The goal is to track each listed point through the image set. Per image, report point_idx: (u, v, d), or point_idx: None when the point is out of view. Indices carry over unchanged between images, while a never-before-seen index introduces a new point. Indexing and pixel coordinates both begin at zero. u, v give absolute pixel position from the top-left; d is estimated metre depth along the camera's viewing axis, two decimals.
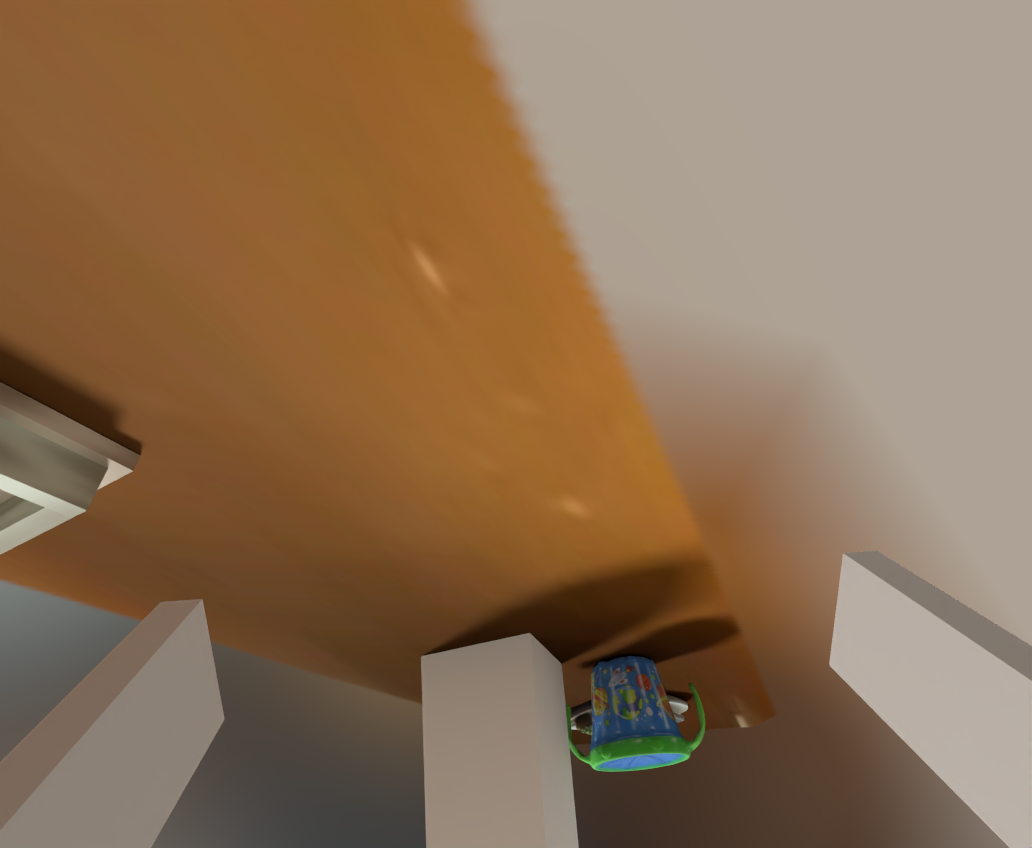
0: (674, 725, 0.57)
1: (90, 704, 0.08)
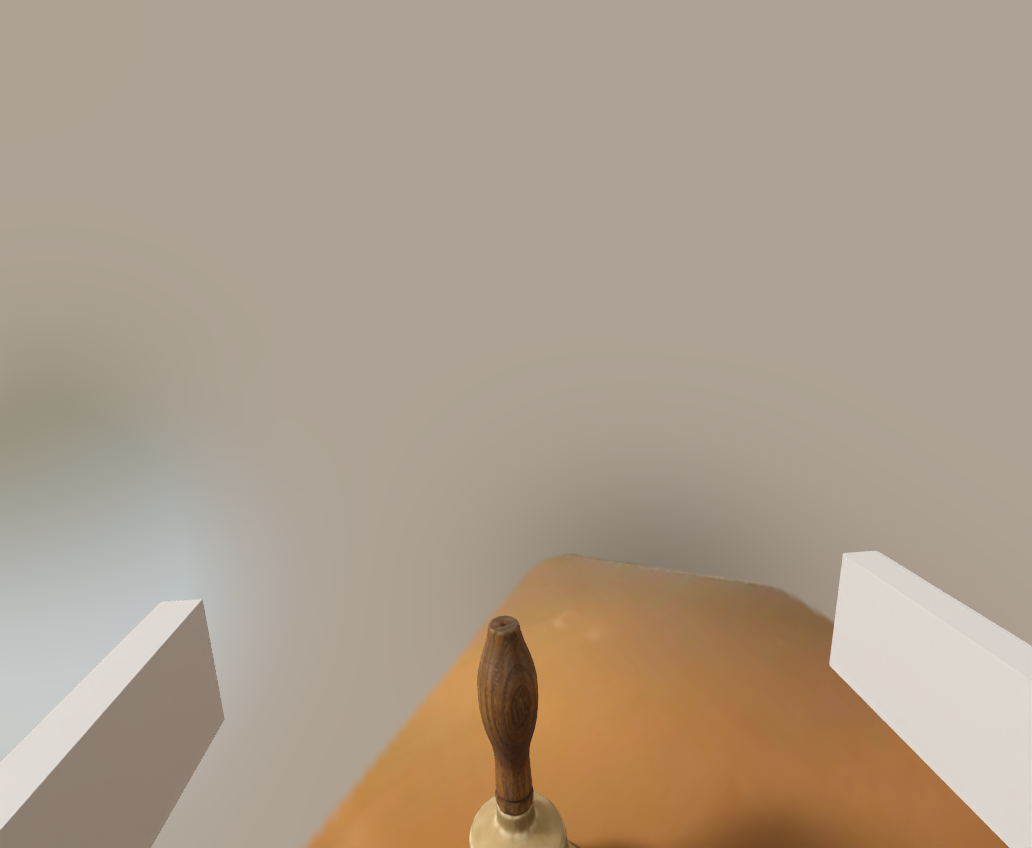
0: None
1: (90, 704, 0.08)
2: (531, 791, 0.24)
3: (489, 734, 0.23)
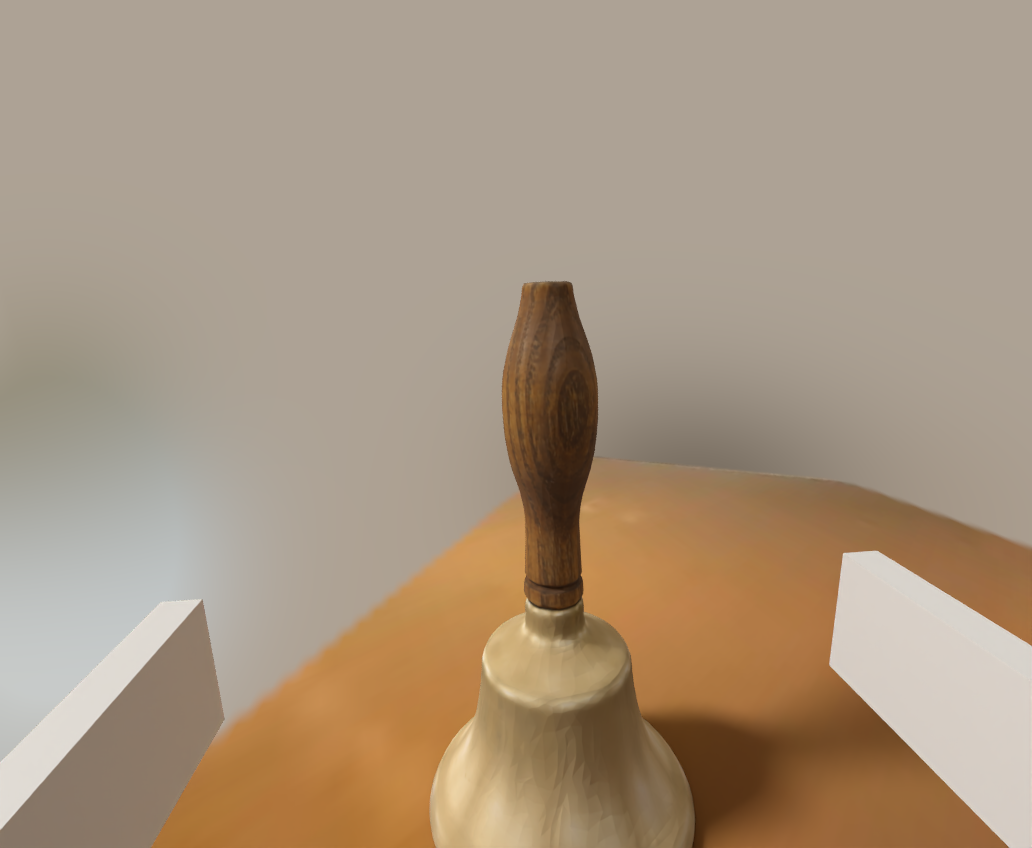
0: None
1: (90, 704, 0.08)
2: (580, 580, 0.15)
3: (520, 467, 0.14)
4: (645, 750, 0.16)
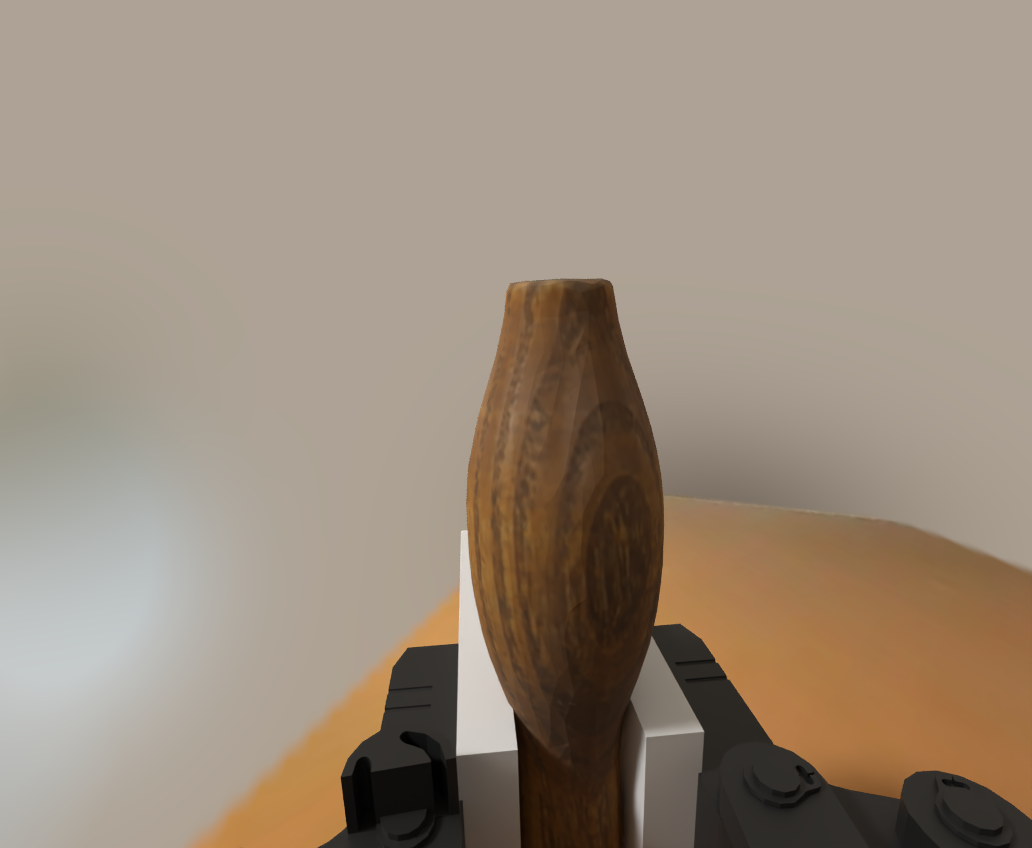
0: None
1: None
2: None
3: (503, 665, 0.07)
4: None
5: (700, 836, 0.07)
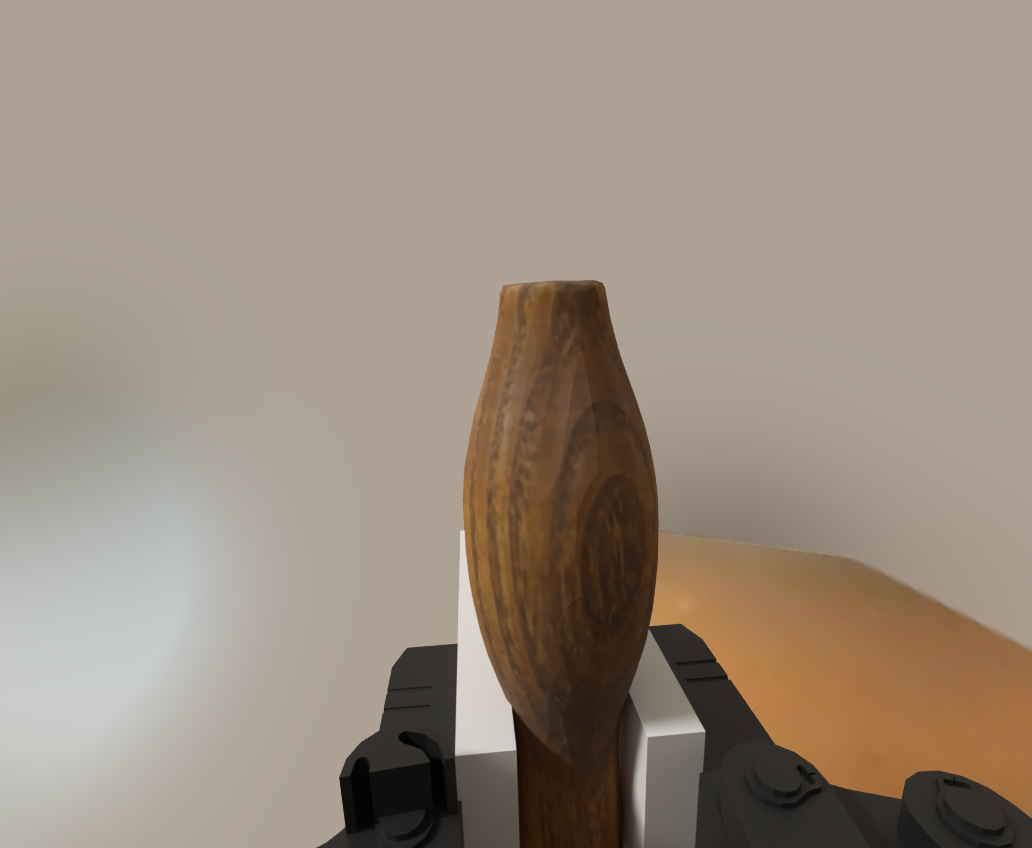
0: None
1: None
2: (621, 844, 0.08)
3: (501, 663, 0.07)
4: None
5: (700, 836, 0.07)
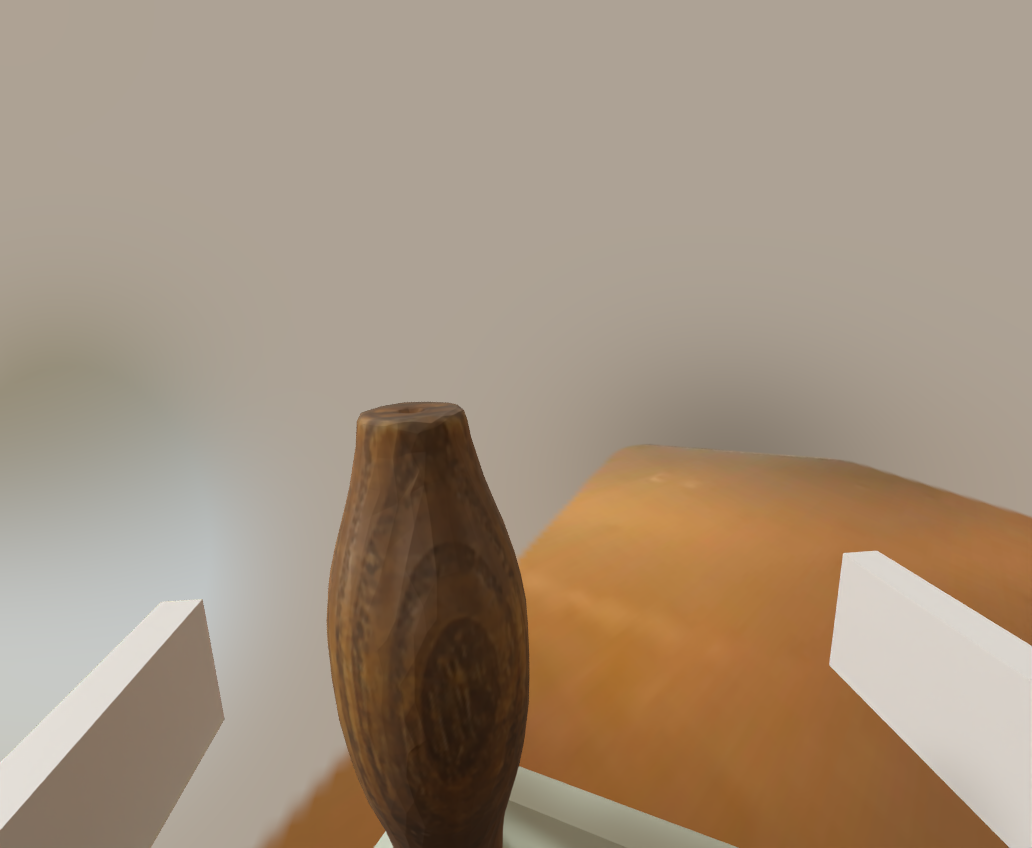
0: None
1: (90, 704, 0.08)
2: None
3: (363, 788, 0.07)
4: None
5: None
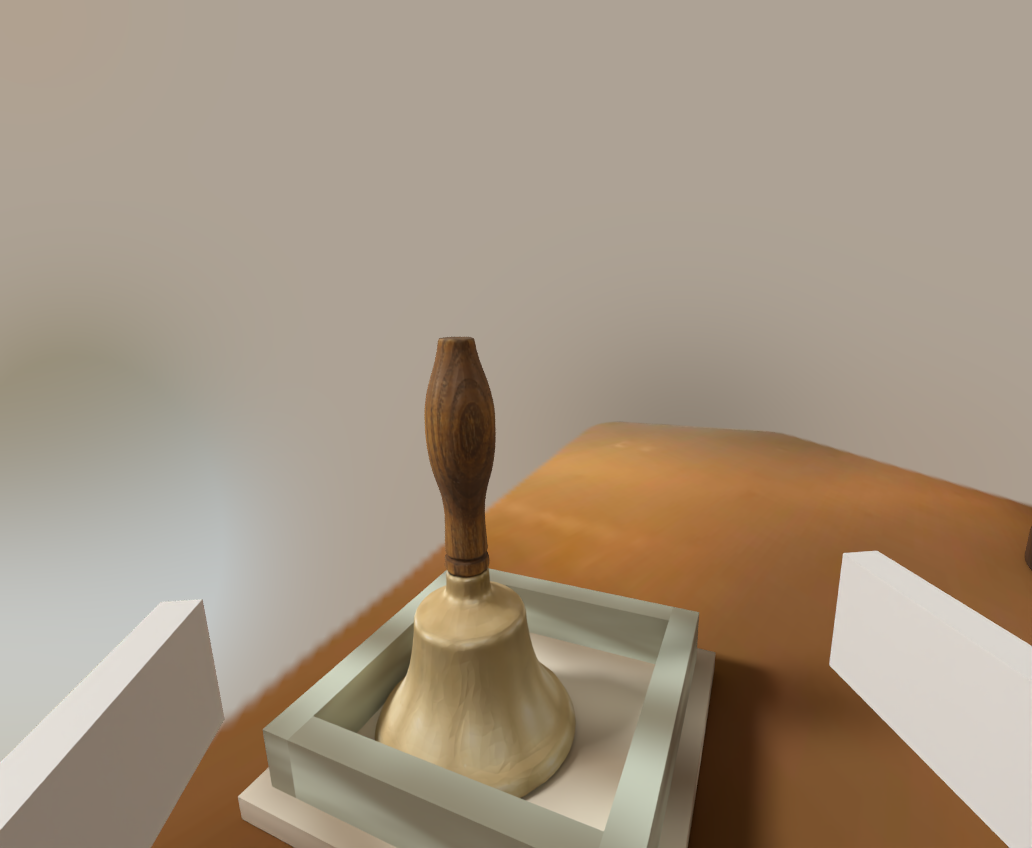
0: None
1: (90, 704, 0.08)
2: (486, 556, 0.21)
3: (436, 471, 0.19)
4: (535, 685, 0.21)
5: None
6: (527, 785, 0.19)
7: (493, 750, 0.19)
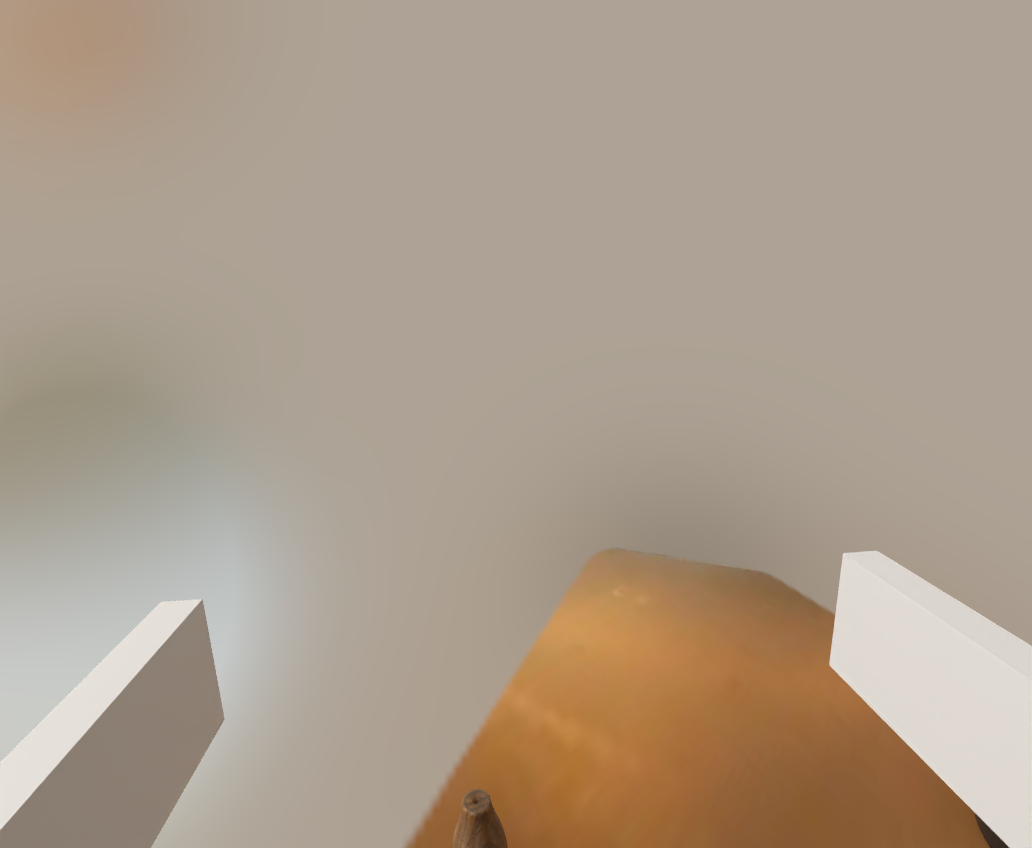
0: None
1: (90, 704, 0.08)
2: None
3: None
4: None
5: None
6: None
7: None
